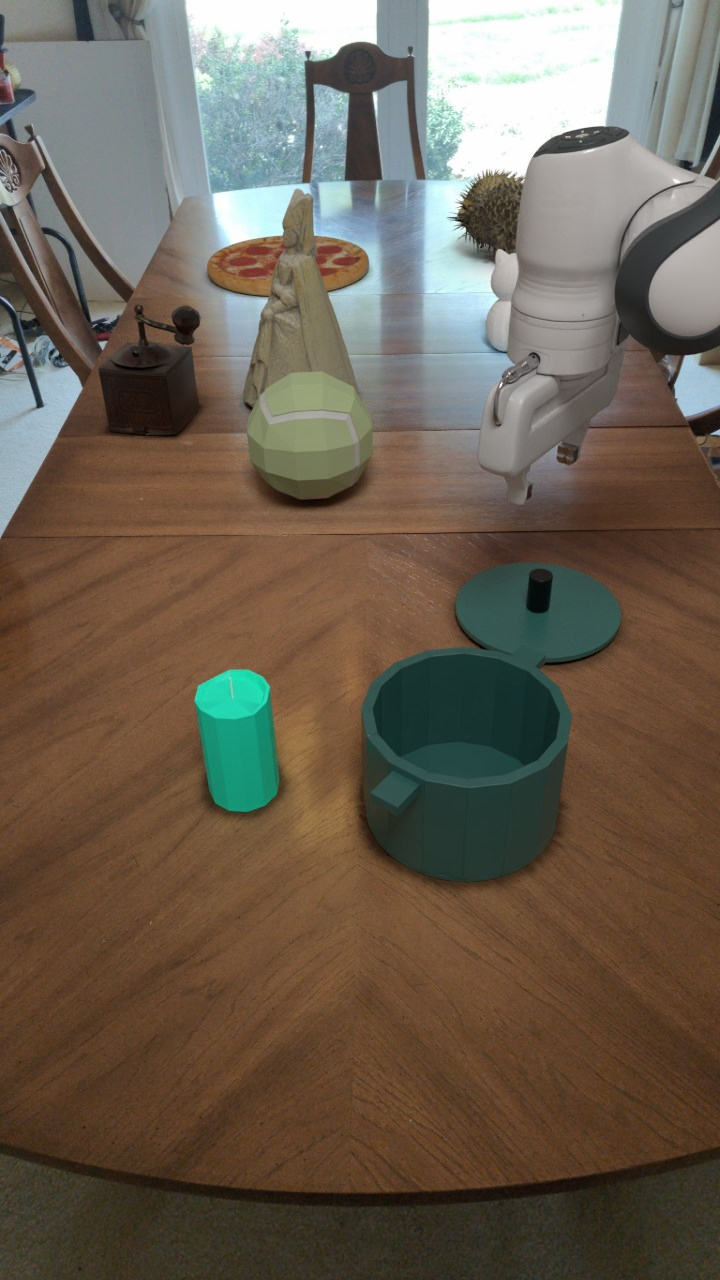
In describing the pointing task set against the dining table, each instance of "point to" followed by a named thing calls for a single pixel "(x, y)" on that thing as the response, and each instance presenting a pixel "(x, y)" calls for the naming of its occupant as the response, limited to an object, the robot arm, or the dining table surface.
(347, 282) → the pizza
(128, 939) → the dining table surface
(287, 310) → the sculpture
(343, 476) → the tennis ball
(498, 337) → the cat figurine
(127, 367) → the coffee grinder
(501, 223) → the durian
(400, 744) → the pot
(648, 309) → the robot arm
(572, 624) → the lid
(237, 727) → the candle
